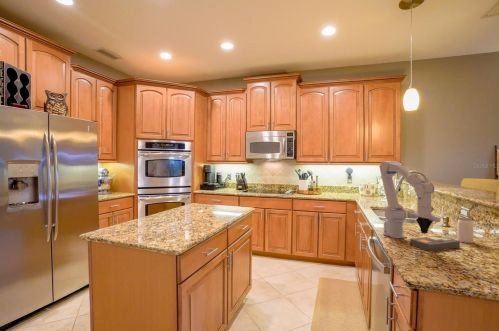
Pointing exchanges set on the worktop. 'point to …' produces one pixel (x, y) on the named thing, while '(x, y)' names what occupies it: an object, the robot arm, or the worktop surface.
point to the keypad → (435, 244)
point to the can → (465, 230)
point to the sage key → (445, 239)
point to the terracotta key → (424, 241)
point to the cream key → (434, 239)
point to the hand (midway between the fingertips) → (424, 233)
